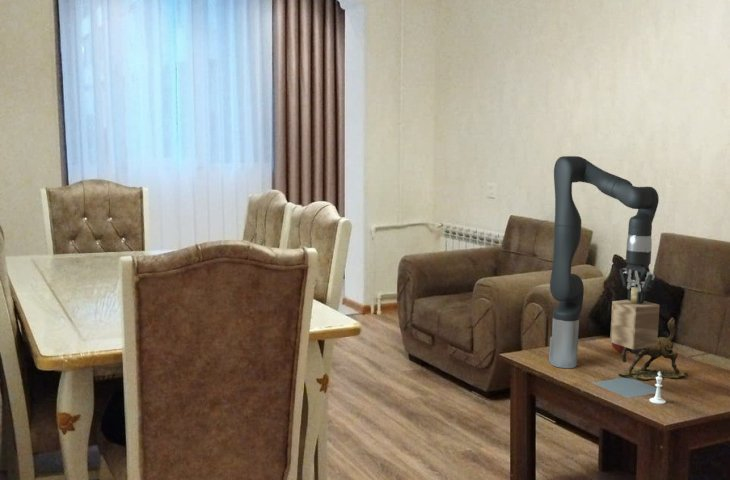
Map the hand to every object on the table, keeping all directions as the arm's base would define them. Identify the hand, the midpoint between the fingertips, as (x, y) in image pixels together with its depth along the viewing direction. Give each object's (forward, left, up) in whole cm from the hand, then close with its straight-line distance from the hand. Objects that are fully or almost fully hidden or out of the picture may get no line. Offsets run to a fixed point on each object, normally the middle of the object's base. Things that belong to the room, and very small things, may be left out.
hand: (635, 301), depth 240 cm
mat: (-1, 0, -29) cm, 29 cm away
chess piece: (+13, -2, -30) cm, 32 cm away
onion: (-34, +29, -30) cm, 54 cm away
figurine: (-7, +18, -29) cm, 35 cm away
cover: (0, 0, -14) cm, 14 cm away
